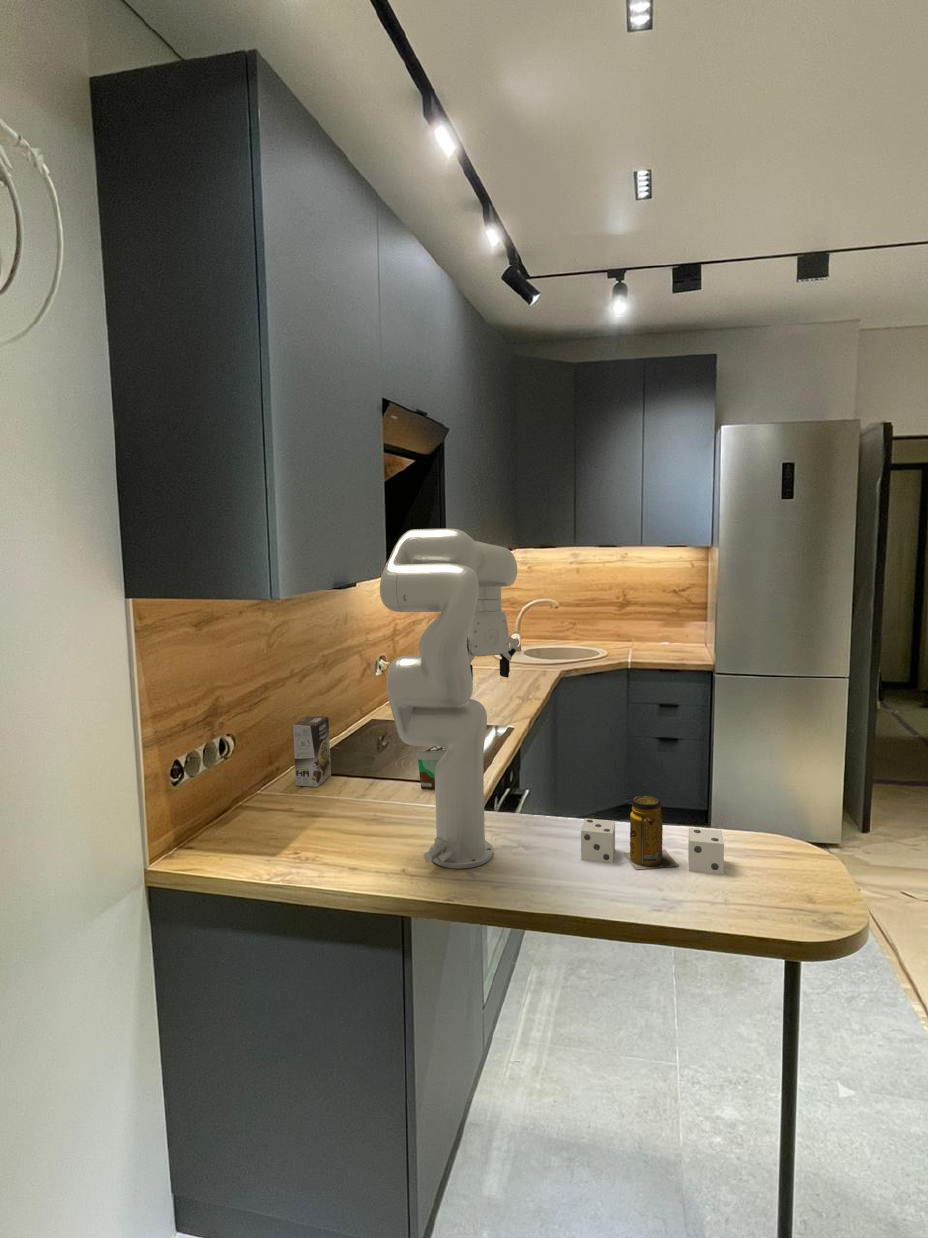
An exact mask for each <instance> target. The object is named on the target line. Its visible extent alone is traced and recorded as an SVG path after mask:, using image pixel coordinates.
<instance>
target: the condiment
mask: <svg viewBox="0 0 928 1238" xmlns="http://www.w3.org/2000/svg"><path fill="white" fill-rule="evenodd" d="M631 805H632V807H631V810H632V811H631V812H630V814H629V815H630V817H629V821H630V822H629V823H630V825H629V846H630V847H629V852H623V854H624V855H625V857H626V859H627V860H628V862H629V863H631V865H632V866H633V867H634V869H635V870H647V869H659V868H660V869H661V868H671V867H679V866H680V865H679V864H678V863H677V862H676V861H675V860H674V859H673V857H672V856H671V855H670V853H668V851H667V850H666V849H663V833H664V832H663V830H664V829H663V819H664V818H663V814H662V813H661V812H662V808H661V807H662V806H661V805H662V803H661V801H660V800H659V799H658V798H657V797H654V796H650V795H648V796H647V795H641V796H639V795H638V796H636V797H634V798H633V799H632V804H631Z"/></svg>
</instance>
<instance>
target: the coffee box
mask: <svg viewBox="0 0 928 1238" xmlns="http://www.w3.org/2000/svg"><path fill="white" fill-rule="evenodd" d="M292 731H293V733H292V734H293V735H292V736H293V750H294V751H293V757H294V772H295V773H294V775H295V776H294V777H295V786H298V787H299V786H300V787H313V788H317V787H320V786H321V784H323V783H324V782H325V781H326V780H327V779H329V777H331V776H332V766H331V765H332V764H331V763H332V761H331V744H330V741H331V740H330V721H329V716H323V715H322V716H320V715H318V716H314V715H313V716H309V715H307V716H305V717H304V718H302V719H300V720H299V721H297V722H295V723H294V724H292Z"/></svg>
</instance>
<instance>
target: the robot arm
mask: <svg viewBox="0 0 928 1238" xmlns="http://www.w3.org/2000/svg"><path fill="white" fill-rule="evenodd" d="M517 575H518V564H517V560H516V558H515V556H514V554H513V552H512V551H511V550H510V549H508V548H507V547H504V546H501V545H495V544H490V543H485V542H481V541H476V540H474V539H473V538H472V537H471V536H470V535H469V534H468V533H466V532H465V531H463V530H460V529H456V528H423V529H422V528H420V529H419V528H417V529H409V530H407V531H405V533H403V534H402V535H401V536H400V537H399V538H398V541H397V542H396V543H395V545H394V547H393V549H392V551H391V553H390V556H389V558H388V560H387V562H386V563H385V567H384V569H383V571H382V573H381V576H380V581H379V595H380V600H381V602H382V604H383V605H384V607H385V608H386V609H387V610H390V611H392V612H396V613H440V614H439V616H438V617H436V619H434V620H433V621H432V622H431V623H430V624H429V625H428V626H427V628H425V630H424V631H423V633H422V635H421V636H420V638H419V640H418V652H419V655H402V656H399V657H396V658H395V659H393V660H392V661H391V663H390V665H389V666H388V668H387V673H386V679H385V680H386V694H387V698H388V699H387V700H388V704H389V706H390V709H391V714H392V717H393V721H394V724H395V729H396V731H397V734H398V737H399V738H400V740H401V741H402V742H403V743H404V744H406V745H410V746H416V747H417V746H418V747H434V746H435V747H445V748H447V752H446V753H445V754H444V755H443V756H442V757H441V759H440V760H439V761H438V763H437V765H436V768H435V790H434V795H435V798H434V799H435V800H434V801H435V826H436V827H435V829H436V837H435V838H434V843H433V844H432V845H430V847H429V850H428V851H426V852H425V853H424V854H423V859H424V860H425V862H426V863H432V862H433V863H435V864H436V865H438V866H441V867H444V868H448V869H457V870H458V869H459V870H460V869H471V868H476V867H479V866H481V865H484V864H486V863H487V862H489V861H490V860H491V859H492V857H493V856H494V848H493V845H492V844H491V843H490V842H489V841H487V840H486V839H485V838H486V833H485V831H486V830H485V790H484V788H485V787H484V785H485V782H484V752H485V751H484V750H485V741H486V740H485V739H486V734H487V733H486V731H487V726H488V715H487V710H486V708H485V707H484V705H483V704H482V703H481V702H479V700H476V699H473V698H471V697H472V695H473V689H474V685H473V684H474V683H473V681H474V675H473V672H474V671H473V668H474V667H473V665H472V664H471V663H472V662H473V660H474V658H475V657H477V658H479V657H490V656H491V657H492V656H500V658H501V659H499V676H501V677H503V678H509V677H510V673H511V672H510V666H511V665H510V661H512V657H513V656H514V655H515V654H516V652H517V648H518V646H519V643H520V642H519V640H517V639H515V638H513V637H511V636H510V635H509V626H508V621H507V615H506V612H505V611H503V610H502V587H504V588H508V587H511V586H512V585H513V584H514V583H515V582H516V580H517Z"/></svg>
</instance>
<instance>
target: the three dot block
mask: <svg viewBox="0 0 928 1238" xmlns="http://www.w3.org/2000/svg"><path fill="white" fill-rule="evenodd" d="M615 852H616V821H615V820H608V819H607V820H605V819H595V818H584V819H583V822H582V826H581V829H580V856H581V857H580V861H589V862H590V861H591V862H599V863H610V864H613V863H614V857H615Z"/></svg>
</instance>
